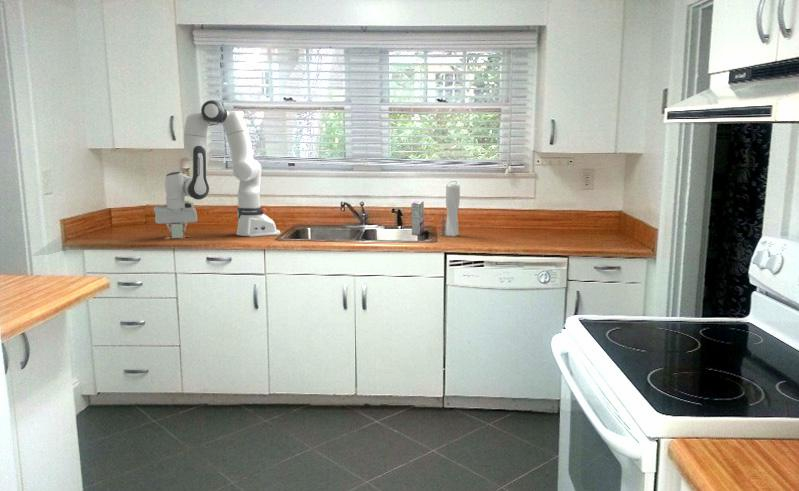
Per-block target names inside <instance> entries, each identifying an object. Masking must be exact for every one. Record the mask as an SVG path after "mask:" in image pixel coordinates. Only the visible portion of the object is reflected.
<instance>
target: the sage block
mask: <svg viewBox="0 0 799 491" xmlns="http://www.w3.org/2000/svg"><path fill="white" fill-rule="evenodd" d="M170 228H171V230H172V232H171V236H172V239H171V240H174V239H173V238H180V239H184V238H183V235H184V232H183V231H182V228H184V227H183V223H170Z"/></svg>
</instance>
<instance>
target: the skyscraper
mask: <svg viewBox="0 0 799 491" xmlns="http://www.w3.org/2000/svg"><path fill="white" fill-rule="evenodd" d="M451 183H454V184H451ZM460 191H461V187H460V184H458V181H456V180H451V181H449V182H448V183H447V184H446V186H445V206H446V214H447V215H446V220H445V212H444V211H443V212H442V220H441V223H442V224H441V234H440V237H447V238H455V237H458V236H459V235H460V233H459V232H460V231H459V230H460V229H459V217H458V212H459V208H460V199H461V197H460V195H461V194H460V193H461V192H460Z"/></svg>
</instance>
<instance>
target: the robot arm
mask: <svg viewBox="0 0 799 491" xmlns="http://www.w3.org/2000/svg"><path fill="white" fill-rule="evenodd" d="M217 125H221V126H222V127H223V129H224V132H225V136H226V138H227V143H228V147H229V150H230V154H231V163H232V173H233V175H234V177H235V178H236V179H238V180H239V186H238V189H237V190H238V191H237V201H238V202H237V206H238V207H237V218H238V222H237V228H236V229H237V231H236V235H237V236H243V237H251V238H253V237H264V236H265V237H267V236H278V235H280V234H281V231H280V229H277V226H276V223H275V221H274V220H273V219H272V218H270V217H269V216H268V215H267V214H265V213H266V211H267V209H266V208H265V207H262V206H261V192H260V191H261V183H262V182H261V181H262V165H261V163H260V162H259V161H258V160H257V159H254V155H253V145H252V144H253V143H252V140H251V138H250V137H251V136H250V133H249V130H248V127H247V124H246V121H245V119H244V117H243V115H242V113H241V112H239V111H238V110H227V109H226V108H225V107H224V106H223V105H222V104H221V103H220V102H218V101H217V100H210V99H209V100H207V101H205V102H204V103H203V104H202V106H201V109H200V112H199V113H190V114H189V115H187V117H186V120H185V123H184V130H183V146H184V147H183V148H184V149H185V151H186V152H187V153H188V154H189V156H190V158H191V162H192V177H191V176H188V175H186V174H185V173H183V172H181V171H172V172H169V173H168V174H166V175H165V180H164V186H165V187H164V189H165V194H166V196H165V204H162V205H161V204H157V205H155V206H154V207H153V213H154V214H155V217H154V219H155V220H154V222H155V224H157V225H159V224H165V226H166V227H167V230H168V233H172V230H171V226H170V224H172V223H182V224H183V223H184V227H183V228H182V231H183V233H184V232H185V233H186V232H187V231H186V228H187V226H188V223H197V222H198V214H197V209H196V208H195V203H193V202H191V201H188V200H185V199H186V198H185V197H189V198H192V199H194V200H203V199H205V198H206V197H207V196H208V195H209V192H210V186H209V183H208V181H207V158H206V157H207V139H208V138H207V137H208V128H209V127H212V126H217Z"/></svg>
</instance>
